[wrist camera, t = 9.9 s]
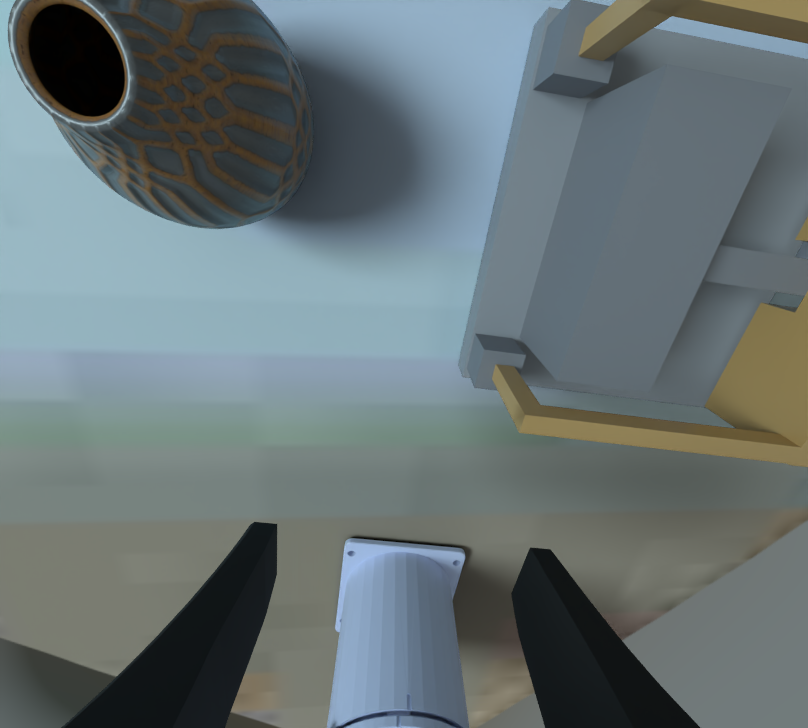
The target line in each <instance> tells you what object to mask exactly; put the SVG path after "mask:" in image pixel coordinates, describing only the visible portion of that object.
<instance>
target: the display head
mask: <svg viewBox="0 0 808 728" xmlns="http://www.w3.org/2000/svg"><path fill="white" fill-rule="evenodd" d="M608 7H609V6H607V5H602V4H597V3H592V2H587V1H582V0H570V2H569V3H568V4H567V5H566V6H565V7H564V8H563V9H562V10H561V9H556V8H551V7H549V8H548V9H547V10H546V11H545V13H544V14H543V15H542V16H541V18H540V19H539V20H538V21H537V23H536V24H535V25H534V29H533V33H532V38H531V42H530V47H529V51H528V56H527V60H526V65H525V69H524V73H523V78H522V82H521V87H520V91H519V96H518V100H517V105H516V109H515V114H514V118H513V122H512V127H511V131H510V136H509V140H508V145H507V149H506V154H505V158H504V163H503V167H502V171H501V176H500V180H499V185H498V189H497V194H496V198H495V203H494V207H493V212H492V216H491V220H490V225H489V229H488V234H487V238H486V243H485V247H484V252H483V256H482V261H481V265H480V269H479V274H478V278H477V283H476V287H475V292H474V296H473V301H472V305H471V310H470V314H469V318H468V323H467V327H466V332H465V336H464V341H463V345H462V350H461V354H460V359H459V363H458V366H459V368H460V371H461V374H462V377H465V378H471V380H472V383H473V385H474V388H481V389H489V390H497V388H496V386H495V384H494V382H493V380H492V376H493V373H494V369H495V365H496V364H499V365H507V366H514V367H515V368H516V370H517V371H518V373H519V374H520V376H521V377H522V379H523V380H524V382H525V383H526V385H528V386H536V387H544V388H552V389H560V390H568V391H576V392H584V393H592V394H600V395H608V396H616V397H624V398H632V399H640V400H647V401H655V402H663V403H671V404H679V405H687V406H695V407H703V408H706V407H705V404H706V402H707V401H708V399H709V397H710V395H711V393H712V391H713V390H714V388H715V386H716V384H717V382H718V380H719V379H720V377H721V375H722V373H723V371H724V369H725V368H726V366H727V364H728V362H729V360H730V358H731V357H732V355H733V353H734V351H735V349H736V347H737V346H738V344H739V342H740V340H741V338H742V336H743V334H744V333H745V331H746V329H747V327H748V325H749V323H750V322H751V320H752V318H753V316H754V314H755V312H756V311H757V309H758V307H759V305H760V303H767V304H769V303H770V301H771V300H772V298H773V296H774V294H775V292H781V293H787V294H794V295H800V296H805V295H806V293H807V291H808V259H803V258H797V257H795V256H796V255H797V253H798V251H799V249H800V247H801V246H802V244H803V242H804V241H800V240H795V239H796V237H797V235H798V234H799V232H800V230H801V228H802V226H803V224H804V223H805V221H806V219H807V217H808V59H804V58H799V57H794V56H789V55H784V54H779V53H774V52H769V51H764V50H759V49H754V48H749V47H744V46H739V45H734V44H730V43H725V42H720V41H715V40H710V39H705V38H700V37H695V36H690V35H685V34H680V33H675V32H670V31H665V30H660V29H655V28H653V29H651V30H649V31H648V32H646V33H645V34H643V35H642V36H640V37H639V38H637V39H636V40H634V41H633V42H631V43H630V44H628V45H627V46H625V47H624V48H622V49H621V50H619V51H617V52H616V53H614V54H613V55H611V56H610V57H608V58H607V59H605V60H604V61H600V60H595V59H590V58H585V57H579V56H578V55H579V52H580V48H581V44H582V40H583V37H584V33H585V29H586V27H587V26H588V25H589V24H590V23H592V22H593V21H594V20H595V19H596V18H597V17H598V16H599V15H600V14H602V13H603V12H604V11H605V10H606V9H607V8H608ZM497 391H498V390H497Z"/></svg>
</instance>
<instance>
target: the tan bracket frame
mask: <svg viewBox="0 0 808 728" xmlns="http://www.w3.org/2000/svg"><path fill="white" fill-rule="evenodd" d="M671 16H675V17H680V18H685V19H689V20H694V21H699V22H704V23H709V24H714V25H719V26H724V27H729V28H734V29H739V30H744V31H749V32H754V33H758V34H763V35H768V36H773V37H778V38H783V39H788V40H793V41H798V42H803V43H808V0H616V1H615V2H614V3H613V4H612V5H611V6H609V7H608V8H607V9H606V10H605V11H604V12H603V13H602V14H600V15H599V16H598V17H597V18H596V19H595V20H594V21H593V22H592V23H590V24H589V25H588V26H587V27H586V29H585V33H584V37H583V40H582V44H581V48H580V52H579V55H578V56H579V57H585V58H590V59H595V60H600V61H604V60H605V59H607V58H608V57H610V56H611V55H613V54H614V53H616V52H617V51H619V50H621V49H622V48H624V47H625V46H627V45H628V44H630V43H631V42H633V41H634V40H636V39H637V38H639V37H640V36H642V35H643V34H645V33H646V32H648V31H649V30H651V29H653V28H654V27H656V26H657V25H659V24H660V23H662V22H663V21H665V20H666V19H668V18H669V17H671ZM795 240H800V241H806V242H808V217H807V219H806V221H805V223H804V224H803V226H802V228H801V230H800V232H799V234H798V235H797V237H796V239H795ZM492 380H493V382H494V384H495V386H496V388H497V390H498V392H499V394H500V396H501V398H502V400H503V402H504V404H505V406H506V408H507V409H508V411H509V413H510V415H511V417H512V419H513V421H514V423H515V425H516V427H517V429H518V431H519V433H526V434H535V435H544V436H552V437H561V438H570V439H578V440H587V441H596V442H605V443H613V444H622V445H631V446H639V447H648V448H657V449H665V450H674V451H683V452H691V453H700V454H709V455H718V456H726V457H735V458H744V459H752V460H761V461H770V462H778V463H787V464H789V465H794V466H803V467H808V291H807V293H806V295H805V297H804V298H803V300H802V302H801V303H800V305H799V307H798V308H794V307H788V306H781V305H774V304H767V303H760V305H759V307H758V309H757V311H756V312H755V314H754V316H753V318H752V320H751V322H750V323H749V325H748V327H747V329H746V331H745V333H744V334H743V336H742V338H741V340H740V342H739V344H738V346H737V347H736V349H735V351H734V353H733V355H732V357H731V358H730V360H729V362H728V364H727V366H726V368H725V369H724V371H723V373H722V375H721V377H720V379H719V380H718V382H717V384H716V386H715V388H714V390H713V391H712V393H711V395H710V397H709V399H708V401H707V402H706V404H705V407H706V408H707V409H709V410H710V411H712V412H713V413H715V414H716V415H718V416H719V417H720V418H722V419H723V420H725V421H726V422H728V423H729V424H731V425H732V426H733V427H735V428H736V429H734V428H726V427H718V426H709V425H701V424H693V423H684V422H676V421H668V420H660V419H651V418H643V417H635V416H627V415H618V414H610V413H602V412H593V411H585V410H577V409H569V408H560V407H552V406H544V405H540V404H539V402H538V401H537V399H536V398H535V396H534V395H533V393H532V392H531V391H530V389H529V388H528V386H527V385H526V383H525V382H524V380H523V379H522V377H521V376H520V374H519V373H518V371H517V370H516V368H515V367H514V366H507V365H499V364H496V365H495V369H494V373H493V376H492Z"/></svg>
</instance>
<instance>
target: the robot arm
mask: <svg viewBox="0 0 808 728" xmlns="http://www.w3.org/2000/svg"><path fill="white" fill-rule="evenodd" d="M455 560H456V561H455ZM464 561H465V552H464V550H463V549H461V548H454V547H443V546H433V545H422V544H411V543H400V542H389V541H378V540H368V539H357V538H350V539H348V540H347V541H346V542H345V547H344V556H343V565H342V574H341V582H340V591H339V600H338V609H337V618H336V627H335V629H336V631H337V632H339V633H340V634H339V642H338V649H337V657H336V664H335V672H334V679H333V687H332V694H331V701H330V709H329V716H328V724H327V728H469V722H468V714H467V707H466V699H465V692H464V684H463V677H462V669H461V662H460V654H459V647H458V639H457V632H456V624H455V617H454V609H453V602H452V600H453V597H454V594H455V590H456V587H457V584H458V581H459V577H460V574H461V571H462V567H463V564H464ZM276 575H277V524H271V523H260V522H254V523H252V524H251V525H250V526H249V527H248V529H247V530H246V532H245V533H244V534H243V536H242V537H241V539H240V540H239V541H238V543H237V544H236V545H235V547H234V548H233V549H232V550H231V552H230V553H229V554H228V556H227V557H226V558H225V559H224V561H223V562H222V563H221V564H220V566H219V567H218V568H217V569H216V570H215V572H214V573H213V574H212V575H211V576H210V578H209V579H208V580H207V581H206V582H205V583H204V585H203V586H202V587H201V588H200V589H199V591H198V592H197V593H196V594H195V595H194V596H193V598H192V599H191V600H190V601H189V602H188V603H187V604H186V605H185V607H184V608H183V609H182V610H181V611H180V612H179V613H178V614H177V615H176V616H175V617H174V618H173V620H172V621H171V622H170V623H169V624H168V625H167V626H166V627H165V628H164V629H163V630H162V632H161V633H160V634H159V635H158V636H157V637H156V638H155V639H154V640H153V641H152V642H151V643H150V644H149V645H148V646H147V647H146V648H145V649H144V650H143V651H142V652H141V653H140V654H139V655H138V656H137V657H136V658H135V659H134V660H133V661H132V662H131V663H130V664H129V665H128V666H127V667H126V668H125V669H124V670H123V671H122V672H121V673H120V674H119V675H118V676H117V677H116V678H115V679H114V680H113V681H112V682H111V683H110V684H109V685H108V686H107V687H106V688H105V689H103V690H102V691H101V692H100V693H99V694H98V695H97V696H96V697H95V698H94V699H93V700H91V701H90V702H89V703H88V704H87V705H86V706H85V707H84V708H83V709H82V710H81V711H79V712H78V713H77V714H76V715H75V716H74V717H73V718H72V719H71V720H70V721H69V722H67V723H66V724H65V725H64V726H63V727H62V728H225V726H226V723H227V720H228V717H229V714H230V711H231V709H232V706H233V703H234V701H235V698H236V695H237V692H238V690H239V687H240V684H241V682H242V679H243V676H244V674H245V671H246V668H247V665H248V663H249V660H250V657H251V655H252V652H253V649H254V646H255V644H256V641H257V638H258V636H259V633H260V630H261V627H262V625H263V622H264V619H265V616H266V613H267V609H268V605H269V602H270V598H271V594H272V591H273V587H274V583H275V579H276ZM512 600H513V606H514V612H515V618H516V623H517V629H518V634H519V638H520V641H521V645H522V649H523V652H524V656H525V659H526V663H527V666H528V670H529V673H530V677H531V680H532V684H533V687H534V690H535V694H536V697H537V701H538V704H539V708H540V711H541V715H542V717H543V721H544V725H545V728H700V727H699V726H698V725H697V724H696V723H695V722H694V721H693V720H692V718H691V717H690V716H689V715H688V714H687V713H686V712H685V711H684V710H683V709H682V708H681V707H680V706H679V705H678V704H677V703H676V702H675V701H674V700H673V698H672V697H671V696H670V695H669V694H668V693H667V692H666V691H665V690H664V689H663V688H662V687H661V686H660V684H659V683H658V682H657V681H656V680H655V679H654V678H653V677H652V675H651V674H650V673H649V672H648V671H647V670H646V668H645V667H644V666H643V665H642V664H641V663H640V662H639V660H638V659H637V658H636V657H635V656H634V655H633V653H632V652H631V651H630V650H629V649H628V648H627V646H626V645H625V644H624V643H623V642H622V640H621V639H620V638H619V637H618V636H617V634H616V633H615V632H614V631H613V629H612V628H611V627H610V626H609V624H608V623H607V622H606V621H605V619H604V618H603V617H602V616H601V614H600V613H599V612H598V611H597V609H596V608H595V607H594V606H593V604H592V603H591V602H590V600H589V599H588V598H587V597H586V595H585V594H584V593H583V591H582V590H581V589H580V587H579V586H578V585H577V584H576V582H575V581H574V580H573V578H572V577H571V576H570V574H569V573H568V572H567V570H566V569H565V568H564V566H563V565H562V564H561V563H560V561H559V560H558V559H557V557H556V556H555V555H554V553H553V552H552V551H551V550H550V549H540V548H530V549H529V552H528V554H527V556H526V559H525V561H524V564H523V566H522V569H521V571H520V574H519V576H518V579H517V581H516V584H515V586H514V589H513V591H512Z"/></svg>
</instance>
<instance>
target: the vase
mask: <svg viewBox="0 0 808 728" xmlns="http://www.w3.org/2000/svg"><path fill="white" fill-rule="evenodd" d="M8 41H9V47H10V52H11V56H12V59H13V62H14V65H15V67H16V70H17V72H18V74H19V76H20V78H21V80H22V82H23V83H24V85H25V87H26V88H27V90H28V91H29V93H30V94H31V95H32V96H33V98H34V99H35V100H36V101H37V102H38V104H39V105H40V106H41V107H42V108H43V109H44V110H45V111H46V112H47V113H49V114H50V115H51V116H52V118H53V119H54V121H55V123H56V125H57V127H58V128H59V130H60V132H61V133H62V135H63V137H64V138H65V139H66V141H67V142H68V144H69V145H70V147H71V148H72V149H73V151H74V152H75V153H76V154H77V156H78V157H79V158H80V159H81V160H82V161H83V163H84V164H85V165H86V166H87V167H88V168H89V169H90V170H91V171H92V172H93V173H94V174H95V175H96V176H97V177H98V178H99V179H100V180H101V181H103V182H104V183H105V184H106V185H107V186H109V187H110V188H111V189H113V190H114V191H115V192H117V193H118V194H119V195H121V196H122V197H124V198H125V199H127V200H128V201H130V202H132V203H133V204H135V205H137V206H139V207H141V208H142V209H144V210H146V211H148V212H150V213H153V214H155V215H157V216H160V217H162V218H165V219H167V220H170V221H173V222H177V223H180V224H184V225H188V226H193V227H199V228H208V229H224V228H234V227H240V226H244V225H247V224H251V223H254V222H257V221H259V220H261V219H264V218H266V217H268V216H269V215H271V214H273V213H275V212H276V211H277V210H279V209H280V208H281V207H282V206H284V205H285V204H286V203H287V202H288V201H289V200H290V199H291V197H292V196H293V195H294V194H295V192H296V191H297V189H298V188H299V186H300V184H301V183H302V181H303V179H304V177H305V174H306V172H307V169H308V166H309V163H310V159H311V154H312V149H313V138H314V123H313V113H312V106H311V101H310V97H309V93H308V90H307V86H306V84H305V81H304V78H303V76H302V73H301V71H300V69H299V66H298V64H297V62H296V60H295V58H294V56H293V54H292V52H291V51H290V49H289V47H288V46H287V44H286V42H285V41H284V39H283V38H282V36H281V35H280V33H279V32H278V30H277V29H276V27H275V26H274V25H273V24H272V22H271V21H270V20H269V18H268V17H267V16H266V15H265V14H264V13H263V12H262V10H261V9H260V8H259V7H258V6H257V5H256V4H255V3H254V2H253V1H252V0H16V1H15V3H14V5H13V7H12V9H11V12H10V16H9V22H8Z"/></svg>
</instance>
